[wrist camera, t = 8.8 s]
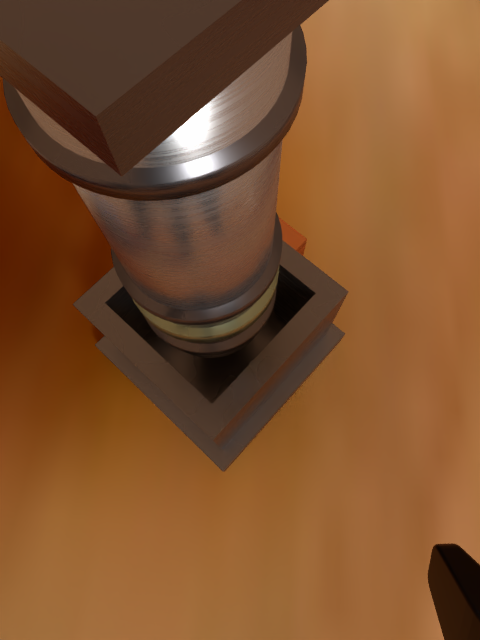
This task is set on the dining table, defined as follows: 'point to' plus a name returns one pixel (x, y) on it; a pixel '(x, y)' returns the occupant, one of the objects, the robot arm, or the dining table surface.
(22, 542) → the dining table surface
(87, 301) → the stand
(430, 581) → the robot arm
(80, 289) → the dining table surface
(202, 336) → the column
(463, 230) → the dining table surface
